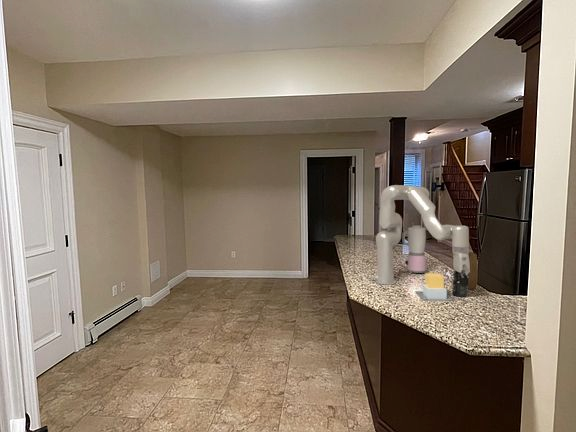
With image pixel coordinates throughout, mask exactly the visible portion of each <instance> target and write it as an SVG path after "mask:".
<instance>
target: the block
mask: <svg viewBox="0 0 576 432" xmlns="http://www.w3.org/2000/svg"><path fill="white" fill-rule="evenodd" d="M468 255H469V264H470V273H468V274H469V275H468V286H467V290H474V289H476V288H477V285H478V257H477V256H478V255H477V254H476V253H475V252H473V251H469V253H468ZM463 274H464V273H463Z"/></svg>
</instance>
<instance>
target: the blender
mask: <svg viewBox="0 0 576 432" xmlns="http://www.w3.org/2000/svg"><path fill="white" fill-rule="evenodd" d="M426 230H427V228H426V227H422V226H421V225H412V226H411V227H408V228H407V230H403V231H402V232H401V242H402V244H403V246H407V247H408V250H409V251H408V255H407V257H406V260H405V262H404V263H405V265H406V267H407V268H406V271H407V272H408V274H413V273H417V274H419V273H421V274H424V275H425V273H427V257H426V255H425V248H426V241H427V239H426V238H427V236H426V235H427V233H426ZM406 233H407V242H406Z"/></svg>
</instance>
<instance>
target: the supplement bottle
mask: <svg viewBox="0 0 576 432" xmlns="http://www.w3.org/2000/svg"><path fill="white" fill-rule="evenodd" d="M463 275H464V274H463ZM461 277H462V276H461V274H455V279H454V278H453V280H452V291H451V292H452V297H455V298H459V299H460V298H461V299H463V298H468V289H467V286H462V285H461Z"/></svg>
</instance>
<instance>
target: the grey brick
mask: <svg viewBox="0 0 576 432" xmlns="http://www.w3.org/2000/svg"><path fill="white" fill-rule="evenodd" d="M447 290H448V289H447V288H445V286H444V289H439V288H428V287H427V286H426V285H425V283H423V284H422V291H423V294H424V295H425V296H426V297H427V298H428V299H447V294H448V292H447Z"/></svg>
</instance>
